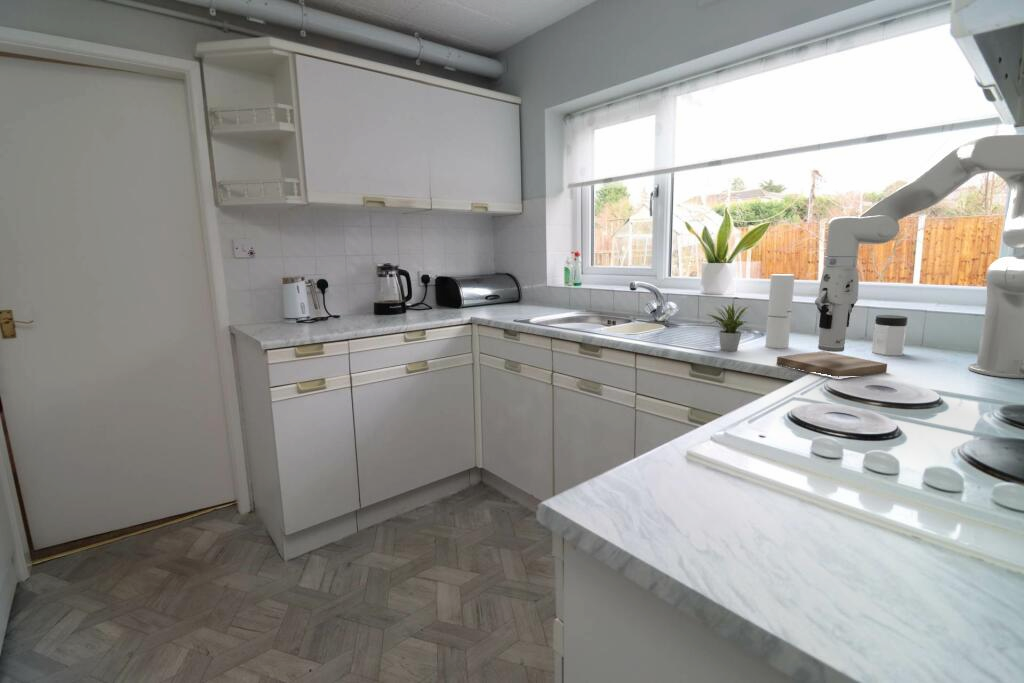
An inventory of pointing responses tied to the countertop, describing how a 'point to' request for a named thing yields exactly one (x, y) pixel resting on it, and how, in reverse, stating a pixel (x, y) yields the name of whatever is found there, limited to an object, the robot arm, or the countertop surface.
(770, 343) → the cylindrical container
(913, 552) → the countertop surface
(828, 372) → the walnut board
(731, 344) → the house plant
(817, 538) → the countertop surface
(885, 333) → the jar
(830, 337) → the travel mug
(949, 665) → the countertop surface
